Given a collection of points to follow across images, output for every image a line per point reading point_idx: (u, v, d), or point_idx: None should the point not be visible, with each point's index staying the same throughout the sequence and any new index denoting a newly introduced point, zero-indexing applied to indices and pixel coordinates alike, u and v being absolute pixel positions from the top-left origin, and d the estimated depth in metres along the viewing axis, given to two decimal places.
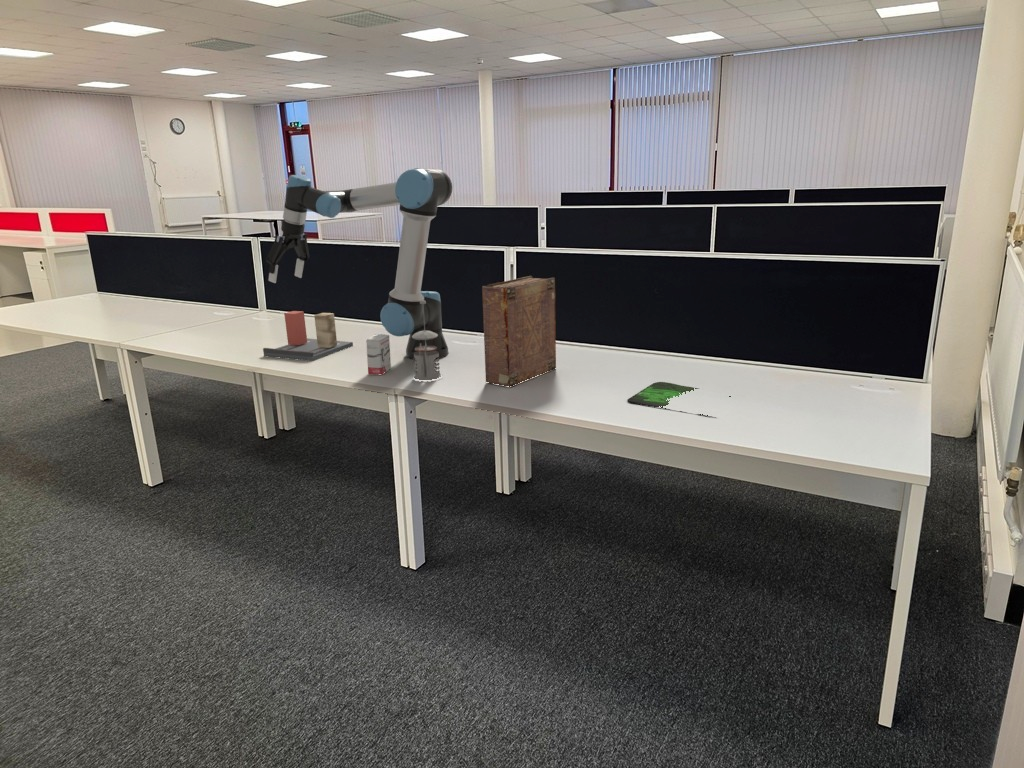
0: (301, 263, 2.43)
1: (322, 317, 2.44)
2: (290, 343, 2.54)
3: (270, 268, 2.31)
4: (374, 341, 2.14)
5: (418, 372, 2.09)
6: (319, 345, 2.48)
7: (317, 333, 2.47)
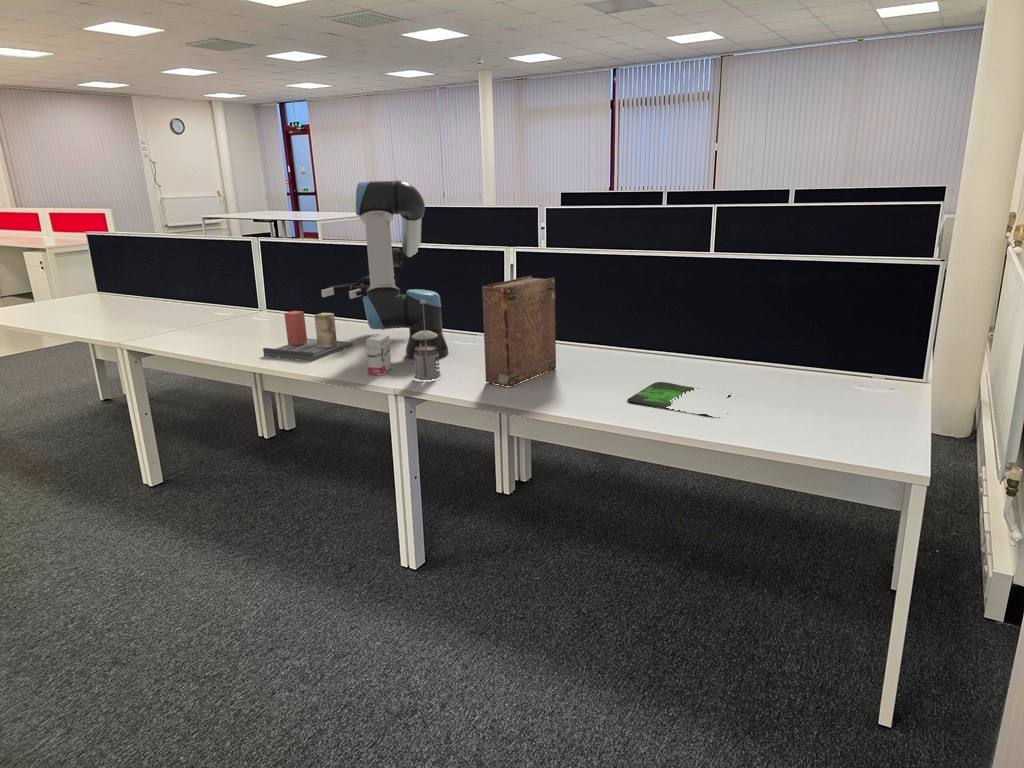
0: None
1: (322, 317, 2.44)
2: (290, 343, 2.54)
3: None
4: (374, 341, 2.14)
5: (418, 372, 2.09)
6: (319, 345, 2.48)
7: (317, 333, 2.47)
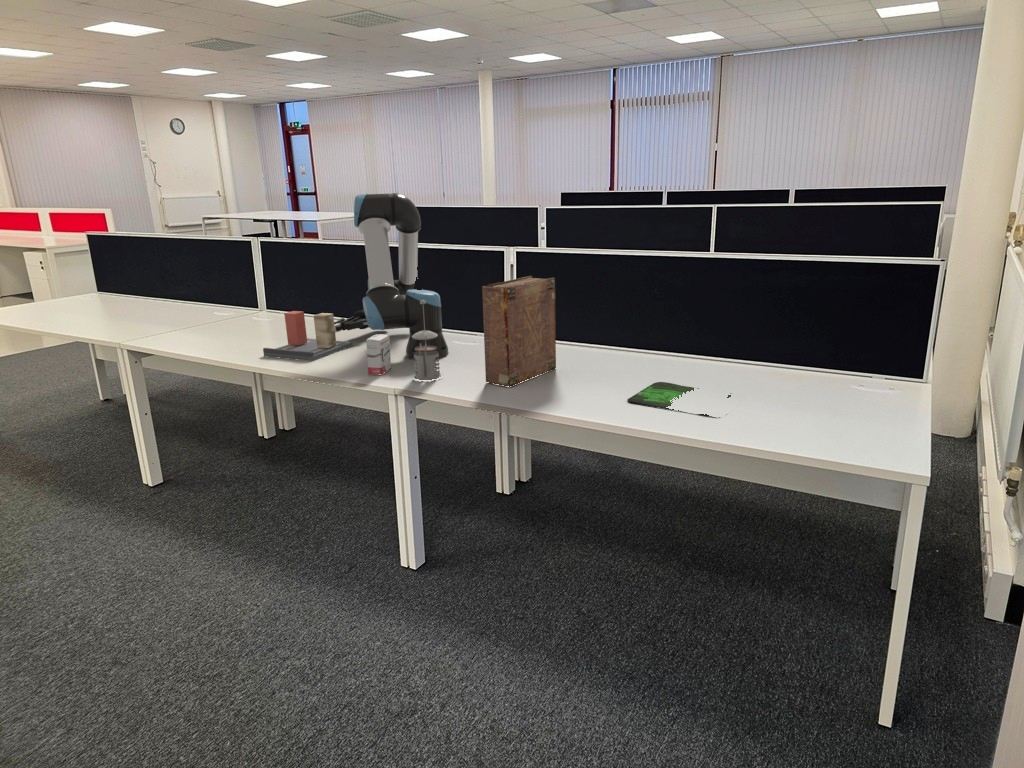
0: None
1: (321, 317, 2.44)
2: (290, 343, 2.54)
3: None
4: (374, 341, 2.14)
5: (418, 372, 2.09)
6: (318, 345, 2.48)
7: (316, 333, 2.47)
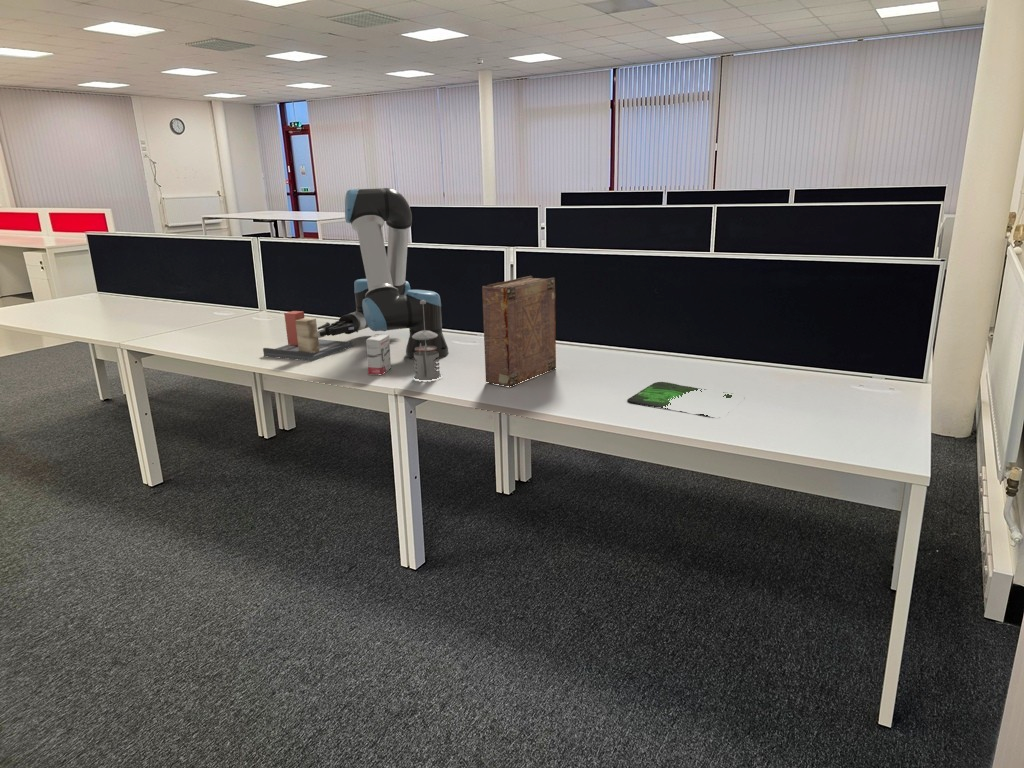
0: None
1: (303, 322, 2.35)
2: (290, 343, 2.54)
3: None
4: (374, 341, 2.14)
5: (418, 372, 2.09)
6: None
7: (298, 339, 2.38)
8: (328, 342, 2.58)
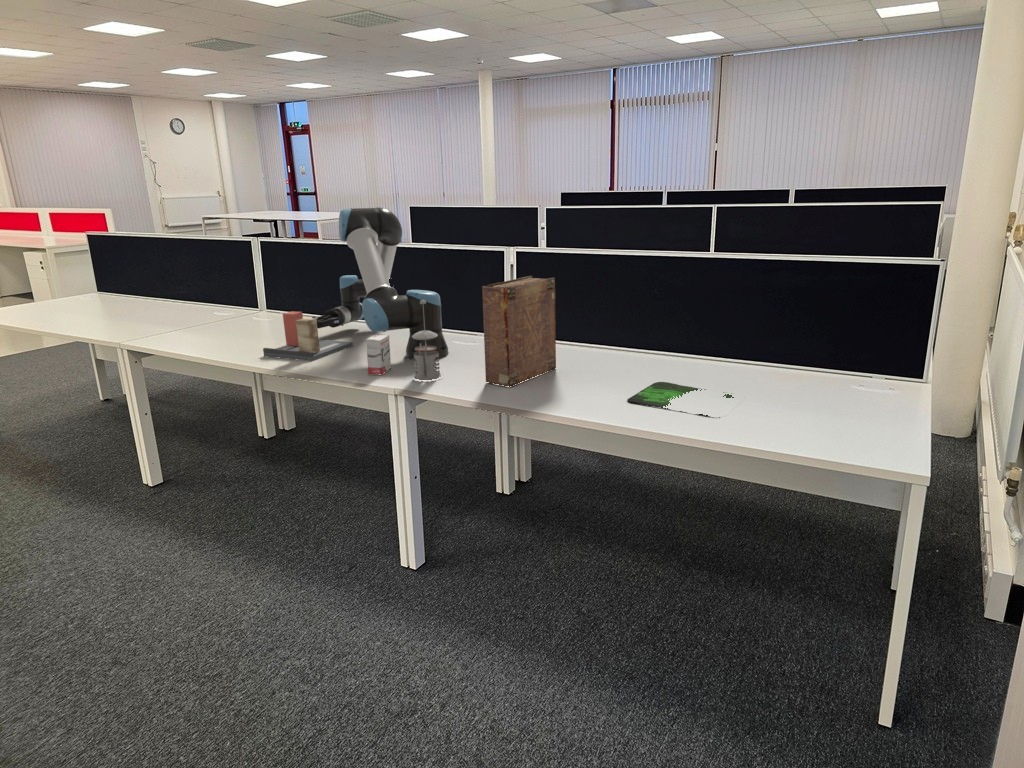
0: None
1: (304, 322, 2.35)
2: (288, 344, 2.53)
3: None
4: (374, 341, 2.14)
5: (418, 372, 2.09)
6: None
7: (299, 339, 2.38)
8: (328, 342, 2.58)
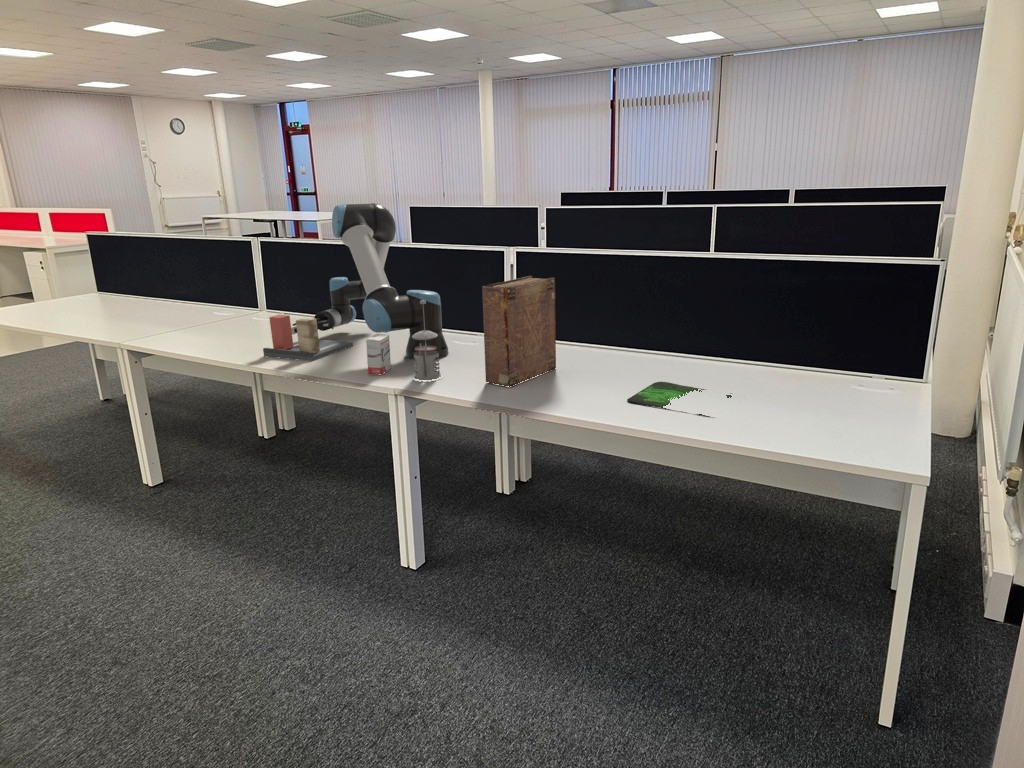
0: None
1: (304, 322, 2.35)
2: (275, 348, 2.47)
3: None
4: (374, 341, 2.14)
5: (418, 372, 2.09)
6: None
7: (299, 339, 2.38)
8: (328, 342, 2.58)
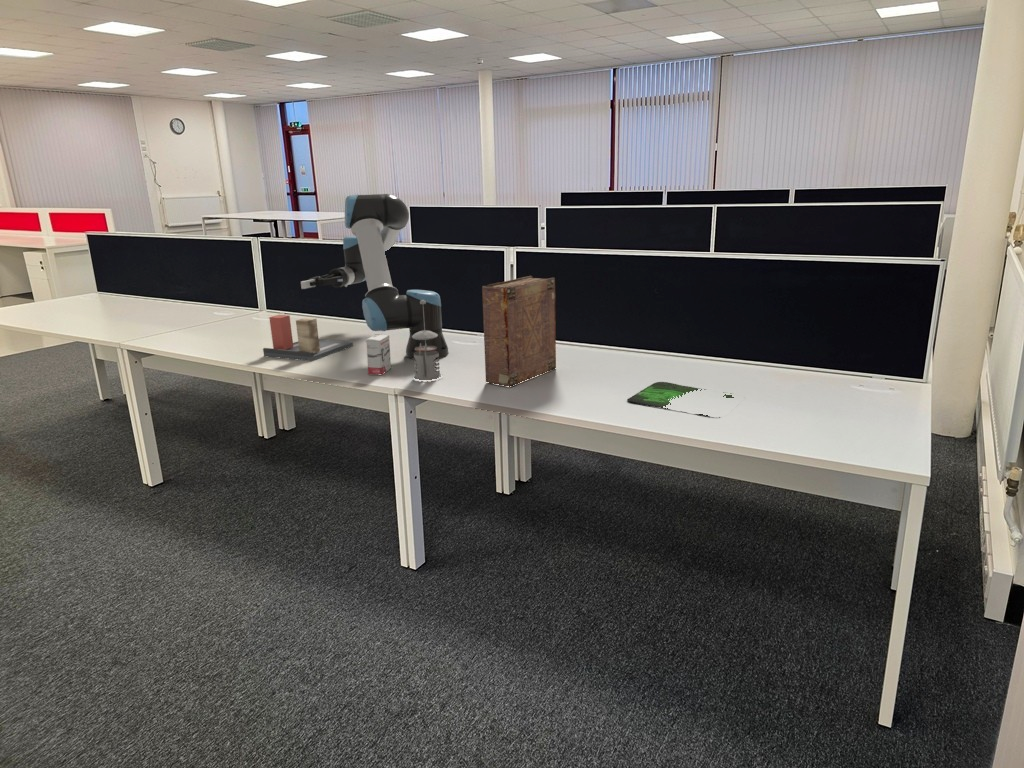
0: None
1: (304, 322, 2.35)
2: (275, 348, 2.47)
3: None
4: (374, 341, 2.14)
5: (418, 372, 2.09)
6: None
7: (299, 339, 2.38)
8: (328, 342, 2.58)
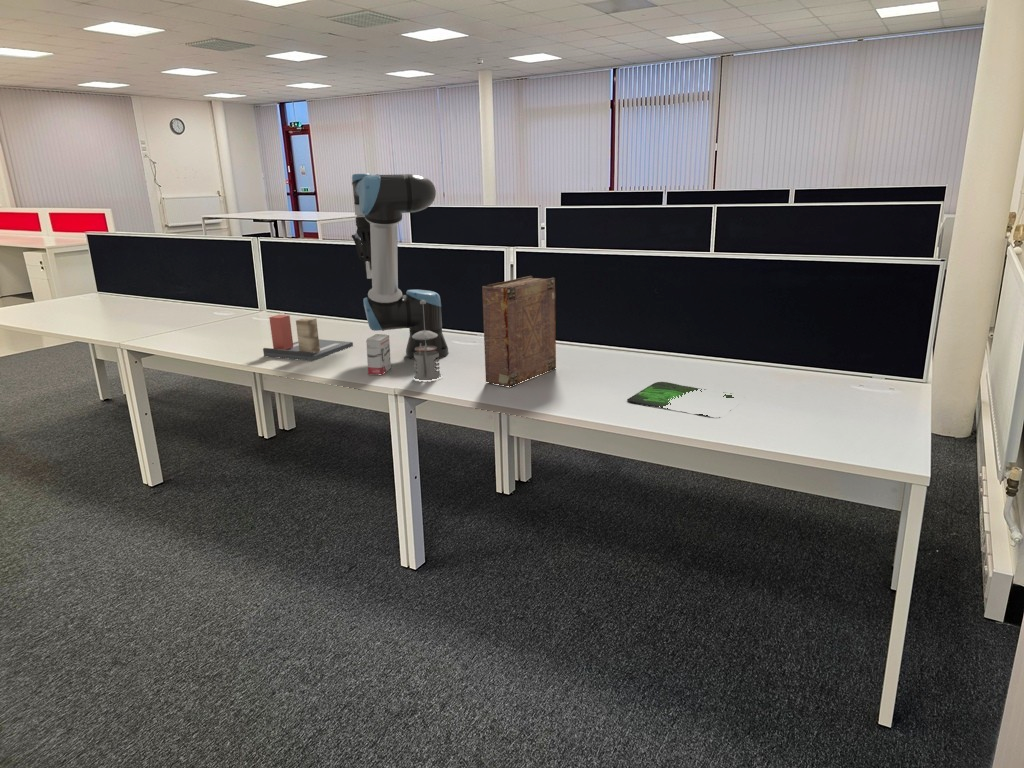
0: None
1: (304, 322, 2.35)
2: (275, 348, 2.47)
3: None
4: (374, 341, 2.14)
5: (418, 372, 2.09)
6: None
7: (299, 339, 2.38)
8: (328, 342, 2.58)
